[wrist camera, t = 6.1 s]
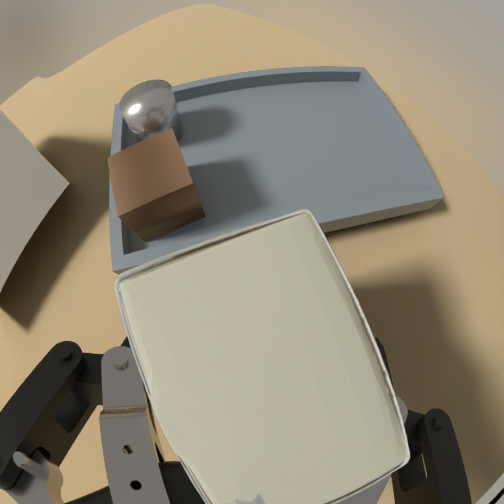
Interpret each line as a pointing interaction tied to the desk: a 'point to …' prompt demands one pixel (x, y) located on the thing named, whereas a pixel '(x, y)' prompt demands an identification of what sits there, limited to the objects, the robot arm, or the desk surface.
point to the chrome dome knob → (151, 110)
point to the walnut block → (154, 187)
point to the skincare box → (264, 367)
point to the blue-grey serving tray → (284, 156)
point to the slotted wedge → (22, 193)
